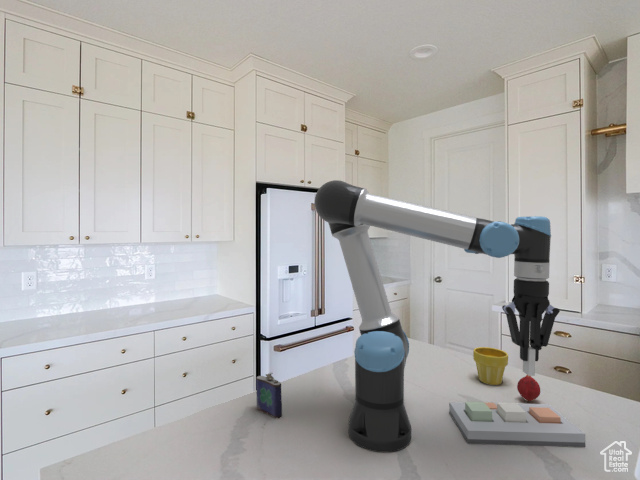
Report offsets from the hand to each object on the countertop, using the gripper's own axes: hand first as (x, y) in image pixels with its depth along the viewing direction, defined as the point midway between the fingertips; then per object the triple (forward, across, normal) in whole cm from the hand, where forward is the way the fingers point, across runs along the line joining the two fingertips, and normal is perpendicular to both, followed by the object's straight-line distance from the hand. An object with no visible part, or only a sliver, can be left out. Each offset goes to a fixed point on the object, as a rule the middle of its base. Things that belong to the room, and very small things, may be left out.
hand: (528, 373), depth 87 cm
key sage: (+12, -12, 0) cm, 17 cm away
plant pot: (+14, +3, +29) cm, 32 cm away
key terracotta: (+12, +4, 0) cm, 13 cm away
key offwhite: (+12, -4, 0) cm, 12 cm away
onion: (+14, +8, +15) cm, 22 cm away
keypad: (+14, -4, 0) cm, 14 cm away
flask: (+16, -66, +5) cm, 68 cm away
